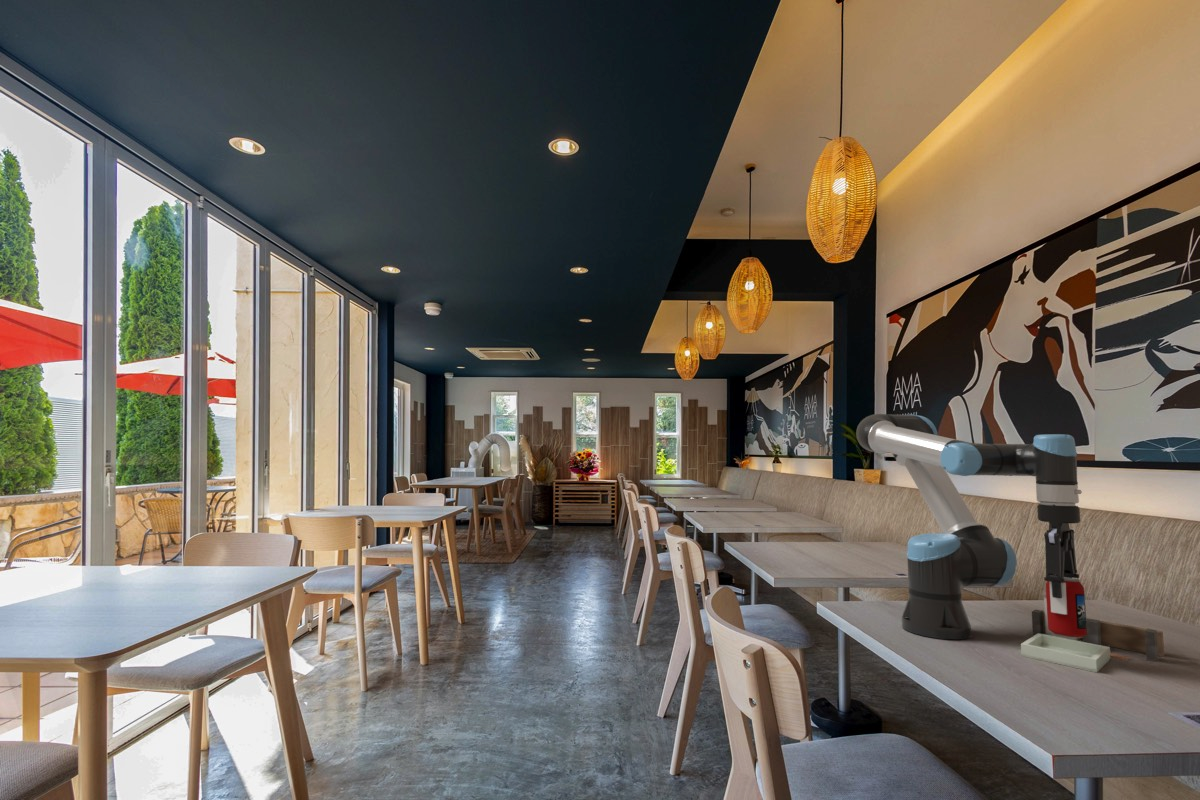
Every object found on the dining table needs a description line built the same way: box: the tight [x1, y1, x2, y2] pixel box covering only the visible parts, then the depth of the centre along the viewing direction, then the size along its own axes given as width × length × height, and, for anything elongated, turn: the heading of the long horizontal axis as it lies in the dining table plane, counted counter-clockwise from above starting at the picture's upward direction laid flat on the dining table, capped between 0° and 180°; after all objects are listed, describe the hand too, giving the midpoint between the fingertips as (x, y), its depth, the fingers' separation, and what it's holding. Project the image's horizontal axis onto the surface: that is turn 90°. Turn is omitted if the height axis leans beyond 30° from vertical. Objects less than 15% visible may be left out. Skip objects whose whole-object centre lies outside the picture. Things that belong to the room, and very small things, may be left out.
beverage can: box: [1045, 578, 1087, 638], centre depth 133 cm, size 7×7×12 cm
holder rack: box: [1031, 609, 1165, 662], centre depth 140 cm, size 23×12×6 cm, turn 41°
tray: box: [1020, 633, 1112, 673], centre depth 133 cm, size 13×13×2 cm
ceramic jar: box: [1042, 590, 1082, 642], centre depth 145 cm, size 7×7×11 cm
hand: (1063, 610), depth 133 cm, fingers closed on beverage can, 7 cm apart
